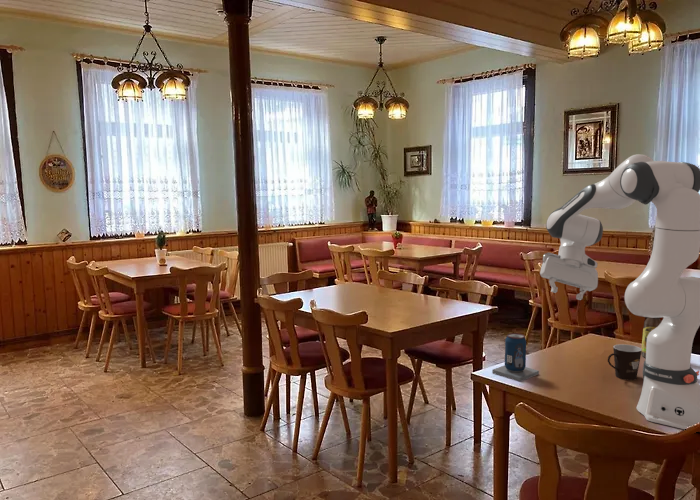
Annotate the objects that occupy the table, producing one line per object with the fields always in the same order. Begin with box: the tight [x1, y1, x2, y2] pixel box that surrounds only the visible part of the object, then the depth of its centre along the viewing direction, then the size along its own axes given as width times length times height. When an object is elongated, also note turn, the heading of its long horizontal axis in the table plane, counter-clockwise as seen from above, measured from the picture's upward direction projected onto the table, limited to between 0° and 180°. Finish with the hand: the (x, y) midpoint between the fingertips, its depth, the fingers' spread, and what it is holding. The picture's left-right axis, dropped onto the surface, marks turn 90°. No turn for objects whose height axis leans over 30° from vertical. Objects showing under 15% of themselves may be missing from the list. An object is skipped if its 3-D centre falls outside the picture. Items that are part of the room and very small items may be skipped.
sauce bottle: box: [641, 317, 662, 359], centre depth 212 cm, size 6×6×20 cm
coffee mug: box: [607, 343, 642, 381], centre depth 192 cm, size 12×9×10 cm
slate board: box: [491, 364, 540, 382], centre depth 197 cm, size 11×11×1 cm
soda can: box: [504, 332, 527, 372], centre depth 197 cm, size 7×7×12 cm
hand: (566, 295), depth 200 cm, fingers open, 8 cm apart
